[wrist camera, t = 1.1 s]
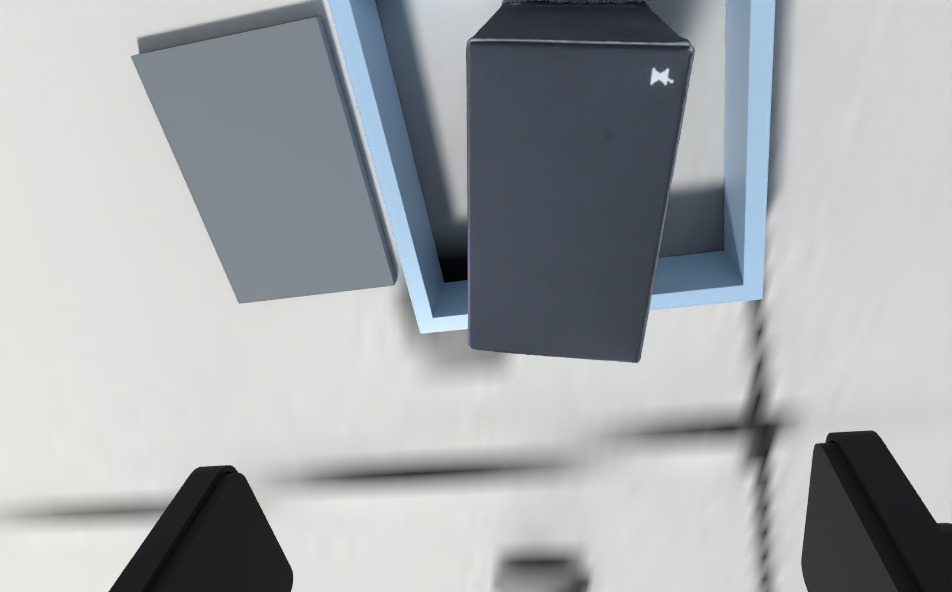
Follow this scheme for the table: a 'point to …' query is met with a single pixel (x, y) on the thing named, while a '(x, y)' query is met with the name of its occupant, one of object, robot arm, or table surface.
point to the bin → (676, 276)
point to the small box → (569, 175)
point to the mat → (271, 160)
